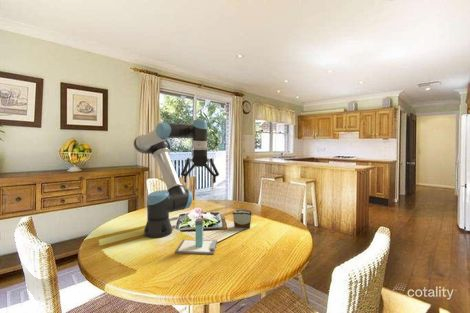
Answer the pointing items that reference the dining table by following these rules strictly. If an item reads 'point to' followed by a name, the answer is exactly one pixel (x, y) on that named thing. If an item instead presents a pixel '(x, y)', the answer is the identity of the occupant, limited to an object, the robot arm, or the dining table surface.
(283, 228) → the dining table surface
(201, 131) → the robot arm
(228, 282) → the dining table surface
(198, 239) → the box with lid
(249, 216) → the food container
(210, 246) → the clipboard
